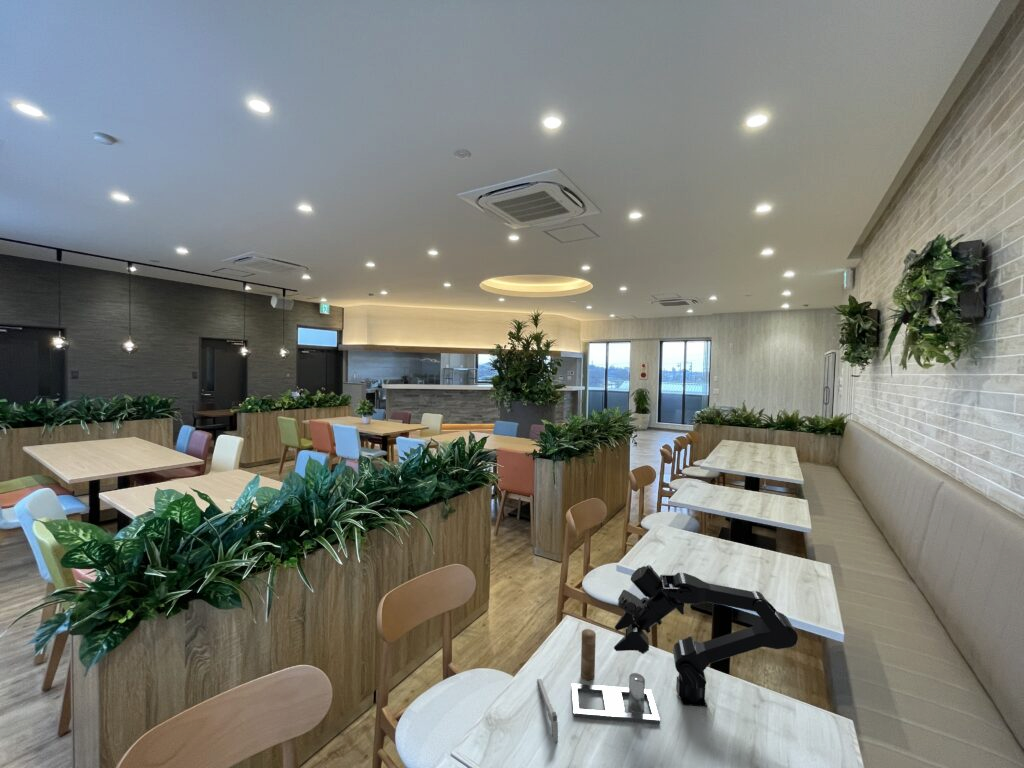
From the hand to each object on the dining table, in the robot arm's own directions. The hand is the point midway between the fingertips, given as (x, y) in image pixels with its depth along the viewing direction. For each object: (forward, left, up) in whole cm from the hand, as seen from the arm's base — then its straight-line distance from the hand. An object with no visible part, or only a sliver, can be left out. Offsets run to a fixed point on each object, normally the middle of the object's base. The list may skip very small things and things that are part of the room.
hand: (615, 638), depth 122 cm
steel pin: (-5, +9, -13) cm, 16 cm away
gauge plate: (+1, +9, -13) cm, 16 cm away
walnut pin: (+7, -1, -13) cm, 15 cm away
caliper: (+20, +12, -13) cm, 26 cm away
